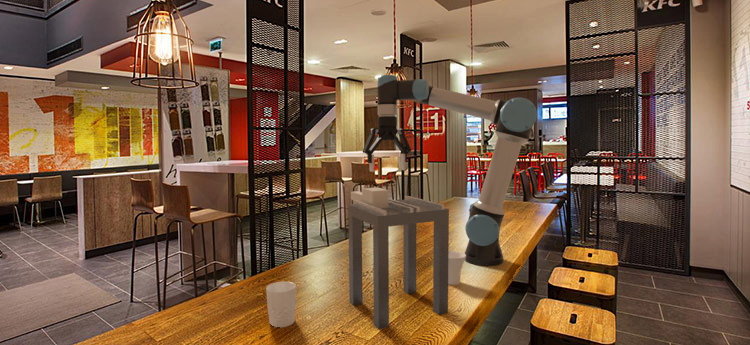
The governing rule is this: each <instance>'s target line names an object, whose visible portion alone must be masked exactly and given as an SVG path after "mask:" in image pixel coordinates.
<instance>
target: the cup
mask: <svg viewBox="0 0 750 345" xmlns="http://www.w3.org/2000/svg"><path fill="white" fill-rule="evenodd" d="M465 259H466V255H465V252H462V251H456V250H454V251H453V250H449V251H448V286H449V285H450V286H457V285H459V284H460V283H461V272H462V268H463V265H464V263H465V261H466V260H465Z"/></svg>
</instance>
